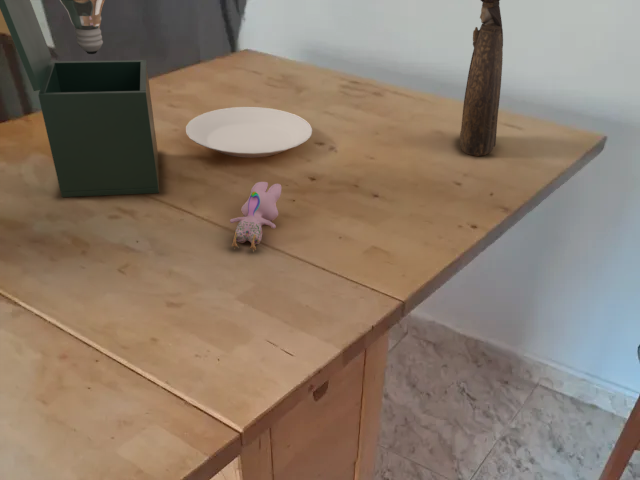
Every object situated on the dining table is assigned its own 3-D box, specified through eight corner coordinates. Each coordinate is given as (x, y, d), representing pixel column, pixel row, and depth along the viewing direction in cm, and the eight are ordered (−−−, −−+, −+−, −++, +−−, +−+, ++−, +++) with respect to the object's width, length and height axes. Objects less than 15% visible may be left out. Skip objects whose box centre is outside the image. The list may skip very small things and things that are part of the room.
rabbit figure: (267, 262, 89) (293, 196, 98) (265, 223, 84) (292, 158, 93) (221, 256, 90) (251, 191, 99) (216, 217, 85) (248, 153, 94)
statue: (443, 140, 119) (470, -31, 102) (479, 134, 121) (511, -33, 104) (472, 158, 113) (505, -19, 96) (509, 152, 116) (547, -22, 99)
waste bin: (157, 153, 110) (146, 59, 101) (159, 193, 100) (145, 92, 90) (70, 157, 108) (49, 61, 99) (61, 197, 98) (37, 94, 88)
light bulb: (56, 50, 93) (34, -57, 85) (103, 43, 96) (86, -61, 88) (79, 63, 89) (58, -48, 81) (127, 55, 92) (112, -52, 84)
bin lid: (5, -65, 88) (-31, -58, 88) (-14, -44, 78) (-55, -36, 78) (51, 57, 98) (19, 63, 98) (40, 90, 88) (4, 97, 88)
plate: (228, 177, 104) (227, 163, 103) (165, 133, 117) (163, 120, 115) (336, 150, 114) (337, 136, 112) (267, 112, 126) (267, 99, 124)
